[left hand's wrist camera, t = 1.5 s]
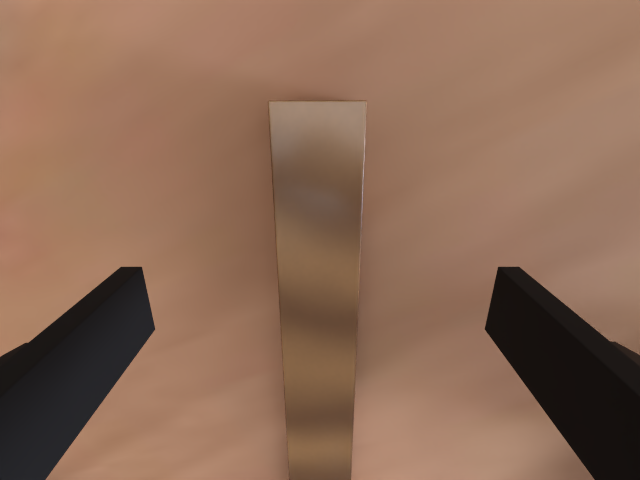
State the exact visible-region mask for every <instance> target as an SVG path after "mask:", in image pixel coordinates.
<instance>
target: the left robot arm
mask: <svg viewBox="0 0 640 480" xmlns="http://www.w3.org/2000/svg"><path fill="white" fill-rule="evenodd" d="M154 330H155V326H154V322H153V317H152V312H151V307H150V303H149V298H148V293H147V289H146V284H145V279H144V275H143V270H142V267H120V268H119V269H118V270H117V271H115V272H114V273H113V274H112V275H111V276H109V277H108V278H107V279H106V280H104V281H103V282H102V283H101V284H100V285H98V286H97V287H96V288H95V289H94V290H92V291H91V292H90V293H89V294H87V295H86V296H85V297H84V298H83V299H81V300H80V301H79V302H78V303H76V304H75V305H74V306H73V307H72V308H70V309H69V310H68V311H67V312H65V313H64V314H63V315H62V316H61V317H59V318H58V319H57V320H56V321H55V322H53V323H52V324H51V325H50V326H48V327H47V328H46V329H45V330H44V331H42V332H41V333H40V334H39V335H37V336H36V337H35V338H34V339H33V340H31V341H30V342H29V343H24V344H23V345H21V346H19V347H17V348H15V349H13V350H12V351H10V352H8V353H6V354H4V355H2V356H1V357H0V480H45V479H46V478H47V477H48V475H49V474H50V472H51V471H52V470H53V468H54V467H55V466H56V464H57V463H58V462H59V460H60V459H61V457H62V456H63V455H64V453H65V452H66V451H67V449H68V448H69V446H70V445H71V444H72V442H73V441H74V440H75V438H76V437H77V436H78V434H79V433H80V431H81V430H82V429H83V427H84V426H85V425H86V423H87V422H88V420H89V419H90V418H91V416H92V415H93V414H94V412H95V411H96V410H97V408H98V407H99V405H100V404H101V403H102V401H103V400H104V399H105V397H106V396H107V394H108V393H109V392H110V390H111V389H112V388H113V386H114V385H115V384H116V382H117V381H118V379H119V378H120V377H121V375H122V374H123V373H124V371H125V370H126V368H127V367H128V366H129V364H130V363H131V362H132V360H133V359H134V358H135V356H136V355H137V353H138V352H139V351H140V349H141V348H142V347H143V345H144V344H145V342H146V341H147V340H148V338H149V337H150V336H151V334H152V333H153V332H154ZM485 330H486V332H487V333H488V334H489V336H490V337H491V338H492V340H493V341H494V342H495V344H496V345H497V347H498V348H499V349H500V351H501V352H502V353H503V355H504V356H505V358H506V359H507V360H508V362H509V363H510V364H511V366H512V367H513V368H514V370H515V371H516V373H517V374H518V375H519V377H520V378H521V379H522V381H523V382H524V384H525V385H526V386H527V388H528V389H529V390H530V392H531V393H532V394H533V396H534V397H535V399H536V400H537V401H538V403H539V404H540V405H541V407H542V408H543V410H544V411H545V412H546V414H547V415H548V416H549V418H550V419H551V420H552V422H553V423H554V425H555V426H556V427H557V429H558V430H559V431H560V433H561V434H562V436H563V437H564V438H565V440H566V441H567V442H568V444H569V445H570V446H571V448H572V449H573V451H574V452H575V453H576V455H577V456H578V457H579V459H580V460H581V462H582V463H583V464H584V466H585V467H586V468H587V470H588V471H589V472H590V474H591V475H592V477H593V478H594V479H595V480H640V355H638V354H637V353H635V352H633V351H631V350H629V349H627V348H626V347H624V346H622V345H620V344H618V343H616V342H610V341H609V340H607V339H606V338H605V337H604V336H603V335H601V334H600V333H599V332H598V331H596V330H595V329H594V328H593V327H592V326H590V325H589V324H588V323H587V322H585V321H584V320H583V319H582V318H581V317H579V316H578V315H577V314H576V313H575V312H573V311H572V310H571V309H570V308H568V307H567V306H566V305H565V304H564V303H562V302H561V301H560V300H559V299H557V298H556V297H555V296H554V295H553V294H551V293H550V292H549V291H548V290H546V289H545V288H544V287H543V286H542V285H540V284H539V283H538V282H537V281H536V280H534V279H533V278H532V277H531V276H529V275H528V274H527V273H526V272H525V271H523V270H522V269H521V268H520V267H498V270H497V275H496V279H495V284H494V289H493V293H492V298H491V303H490V307H489V312H488V317H487V321H486V326H485Z"/></svg>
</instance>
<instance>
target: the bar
mask: <svg viewBox="0 0 640 480" xmlns="http://www.w3.org/2000/svg"><path fill="white" fill-rule="evenodd" d="M366 109H367V101H366V100H326V101H268V111H269V129H270V147H271V164H272V182H273V199H274V217H275V235H276V252H277V270H278V287H279V305H280V323H281V340H282V358H283V375H284V393H285V411H286V428H287V446H288V464H289V480H351V466H352V442H353V418H354V395H355V371H356V347H357V323H358V300H359V276H360V252H361V228H362V204H363V181H364V157H365V133H366Z"/></svg>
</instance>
